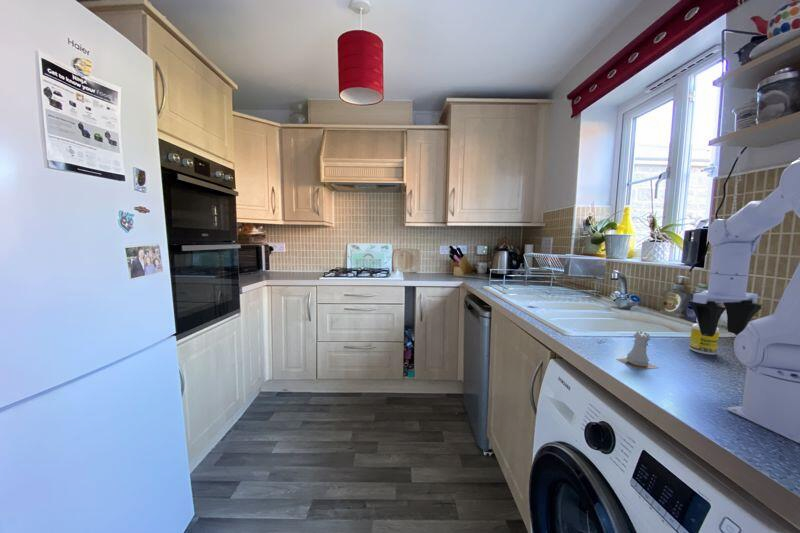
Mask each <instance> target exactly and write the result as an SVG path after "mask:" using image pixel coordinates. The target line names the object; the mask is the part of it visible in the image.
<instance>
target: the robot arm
mask: <svg viewBox="0 0 800 533" xmlns="http://www.w3.org/2000/svg"><path fill="white" fill-rule="evenodd" d="M790 211H793V212H794V213H795V214H796V216H797V217H798V218H799V219H800V157H799V158H798V159H797V158H796V160H794V161H792V162H791V163H790V165H788V166H787V167H786V168H785V169H784V170H783V171H782V172H781V175H780V179H779V183H778V187H777V188H775V189H774V190H773V191H772V192H771V193H770V194H768V195H767V196H766V197H765V198H764V199H763V200H751V201H749V202H748V203H747V204H746V205H744V206H743V207H741V208H740V209H739V210H738V211H737V212H734V214H732V215H731V216H730V217H728V218H725V219H723V218H716V219H714V220H713V221H712V223H710V225H709V228H708V232H707V239H708V243H709V244H710V245H711V246H712V249H711V259H710V260H711V261H710V268H709V277H708V284H707V290H702V291H701V292H699V293H698V292H697V293H693V297H692V300H690V301H689V306H690V308H691V309H692V310H693V312H694V314H695V317H696V319H697V320H698V323H699V328H700V332H701V333H702V334H706V335H710V336H714V334H715V332H716V329H717V328H718V324H719V321H720V318H721V316H722V314H724V311H726V318H727V320H726V322H727V323H726V327H727V332H728V333H731V334H735V335H736V337H735V338H734V340H733V341H734V342H733V350H734V354H735V356H736V358H737V359H738V361H740V363H741V364H742V365H744V366H746V373H745V374H746V375H745V380H744V390H743V395H742V402H741V403H742V404H741V405H739V406H737V405H736V406H727V408H726V410H727V411H729V412H731V413H733V414H735V415H737V416H739V417H742V418H744V419H746V420H747V421H750V422H752V423H755V424H756V425H758V426H760V427H763V428H765V429H767V430H769V431H772V432H774V433H776V434H778V435H781V436H782V437H784V438H787V439H789V440H791V441H794V442H796V443H798V444H800V261H799V262H798V265H797V266H796V269H795V270H794V273H793V274H792V275H791V279H790V280H789V282H788V284H787V285H786V288H785V290H784V292H783V294H782V296H781V298H780V299H779V302H778V304H777V306H776V307H775V310H774V312H773V313H772V314H770V315H766V316H763V317H759V318H757V319H753V320H751V319H752V318H753V317H754V316H755V315H756V313H758V312H759V311H760V310H761V309H762V304H759V303H758V297H759V294H758V293H751V292H747V288H748V283H749V282H748V281H749V280H748V279H749V273H750V264H751V257H752V255H754V254H755V252H756V250H757V249H756V248H757V245H758V244H759V242H760V240H761V238H762V236H763V234H764V233H766V232H768V231H769V230H771V229H773V228H775V227H776V226H778V225H779V224H781V223H782V222H783V221H784V219H785V216H786V213H788V212H790ZM717 303H719V304H720V303H723V305H724V306H721V305H718V304H717Z"/></svg>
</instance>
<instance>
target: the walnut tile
mask: <svg viewBox="0 0 800 533" xmlns="http://www.w3.org/2000/svg"><path fill="white" fill-rule="evenodd" d="M626 358H627V357H625V358H616V359H615V360H617V361H619V362H621V363H623V364H625V365H628V366H629V367H630V368H633V369H636V370H650V369H659V367H658V366H657V365H654V364H651V363H649V364H648V365H647V366H645V367H640V366H636V365H633V364H631V363H629V362H628V360H627V359H626Z"/></svg>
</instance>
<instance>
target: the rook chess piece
mask: <svg viewBox="0 0 800 533" xmlns="http://www.w3.org/2000/svg"><path fill="white" fill-rule="evenodd" d="M633 337H634V340H633V342H634V344H633V347H632V349H631V350H630V351H628V353H627V356H626V357H625V358H626V359H627V360H628V362H629V363H631V364H633V365H636V366H640V367H645V366H647V365H648V364H650V363H649V361H650V359H649V356H648V355H647V346H648V345H649V343H648V342H649V341H650V340H651V337H650V334H649V333H647V332H643V331H636V332H635V333H634V334H633Z"/></svg>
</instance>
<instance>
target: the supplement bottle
mask: <svg viewBox="0 0 800 533" xmlns="http://www.w3.org/2000/svg"><path fill="white" fill-rule="evenodd" d="M695 321H696V323H693V324H692V325H691V330H690V338H689V345H688V346H689V350H691V351H693V352H696V353H699V354H703V355H710V356H711V355H716V354H717V351H718V344H719V338H720V337H719V336H720V328H719V327H717V329H716V332H715V334H714V336H710V335H706V334H702V333H701V332H700V328H699V323H698V320H697V318H696V320H695Z"/></svg>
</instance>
